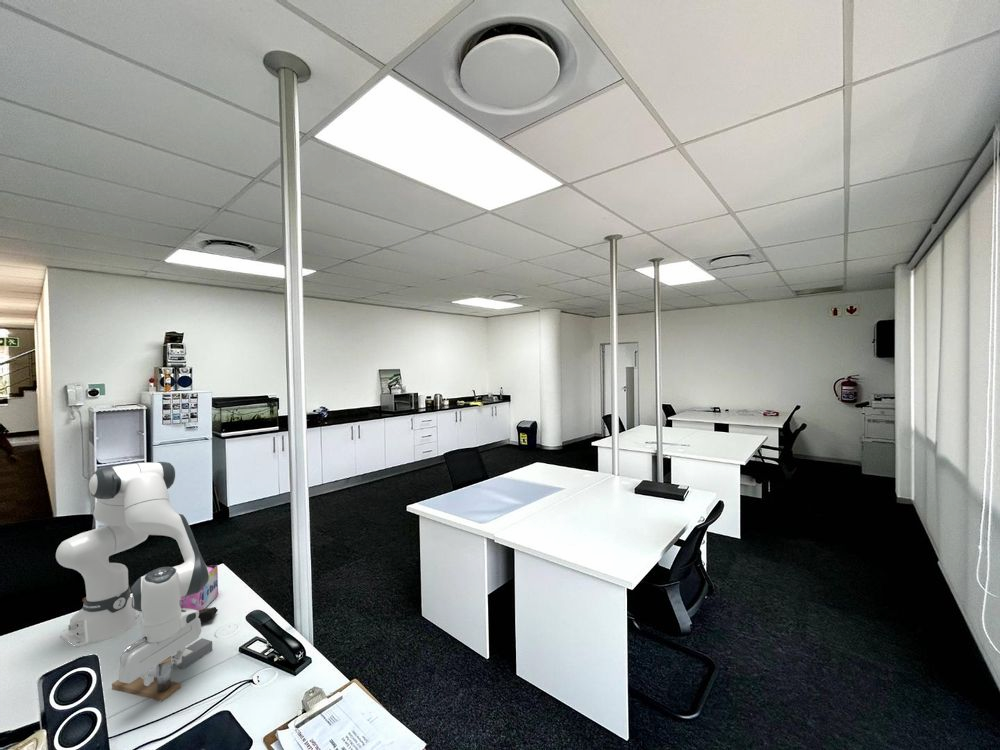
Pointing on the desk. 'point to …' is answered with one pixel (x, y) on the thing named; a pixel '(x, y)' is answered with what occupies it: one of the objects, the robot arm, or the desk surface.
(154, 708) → the desk surface
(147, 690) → the strip
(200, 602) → the gum box
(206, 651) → the block
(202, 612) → the tape measure
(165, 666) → the grey metal cylinder
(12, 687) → the desk surface
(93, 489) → the robot arm
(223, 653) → the desk surface
